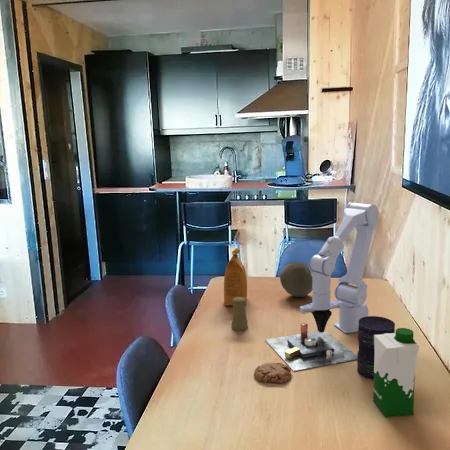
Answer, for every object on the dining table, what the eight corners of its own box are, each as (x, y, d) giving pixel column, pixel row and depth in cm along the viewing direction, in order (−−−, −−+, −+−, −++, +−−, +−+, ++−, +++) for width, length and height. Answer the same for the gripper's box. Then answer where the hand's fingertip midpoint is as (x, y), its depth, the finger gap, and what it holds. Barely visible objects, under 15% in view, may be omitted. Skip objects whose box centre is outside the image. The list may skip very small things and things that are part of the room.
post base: (323, 330, 157) (324, 321, 156) (360, 359, 136) (360, 348, 136) (265, 340, 151) (264, 331, 150) (293, 371, 130) (293, 361, 130)
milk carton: (419, 417, 108) (423, 338, 104) (382, 419, 107) (385, 341, 103) (401, 396, 116) (405, 323, 113) (367, 399, 116) (370, 325, 112)
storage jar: (374, 384, 122) (376, 333, 119) (349, 369, 131) (350, 320, 128) (401, 375, 127) (403, 325, 124) (374, 360, 135) (376, 313, 132)
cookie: (248, 373, 131) (248, 363, 130) (280, 364, 135) (280, 355, 134) (264, 389, 122) (264, 379, 121) (298, 380, 126) (298, 370, 125)
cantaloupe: (290, 289, 201) (290, 256, 198) (320, 295, 192) (320, 261, 190) (274, 299, 189) (274, 264, 187) (305, 305, 181) (305, 269, 178)
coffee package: (250, 297, 192) (249, 246, 188) (246, 307, 180) (244, 254, 176) (227, 296, 194) (225, 246, 190) (221, 306, 182) (219, 253, 178)
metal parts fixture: (317, 338, 150) (317, 321, 149) (334, 352, 140) (334, 334, 139) (274, 345, 146) (274, 327, 145) (288, 360, 136) (288, 341, 134)
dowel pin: (330, 358, 137) (330, 349, 136) (332, 360, 135) (332, 351, 135) (325, 358, 136) (325, 350, 136) (328, 361, 135) (328, 352, 134)
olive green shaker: (246, 331, 158) (246, 301, 156) (229, 330, 160) (229, 300, 157) (249, 324, 164) (248, 295, 162) (232, 323, 165) (232, 294, 163)
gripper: (334, 285, 152) (334, 323, 155) (295, 290, 148) (295, 329, 150) (346, 291, 145) (345, 331, 148) (305, 297, 141) (305, 338, 144)
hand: (320, 331), depth 149 cm, fingers closed
